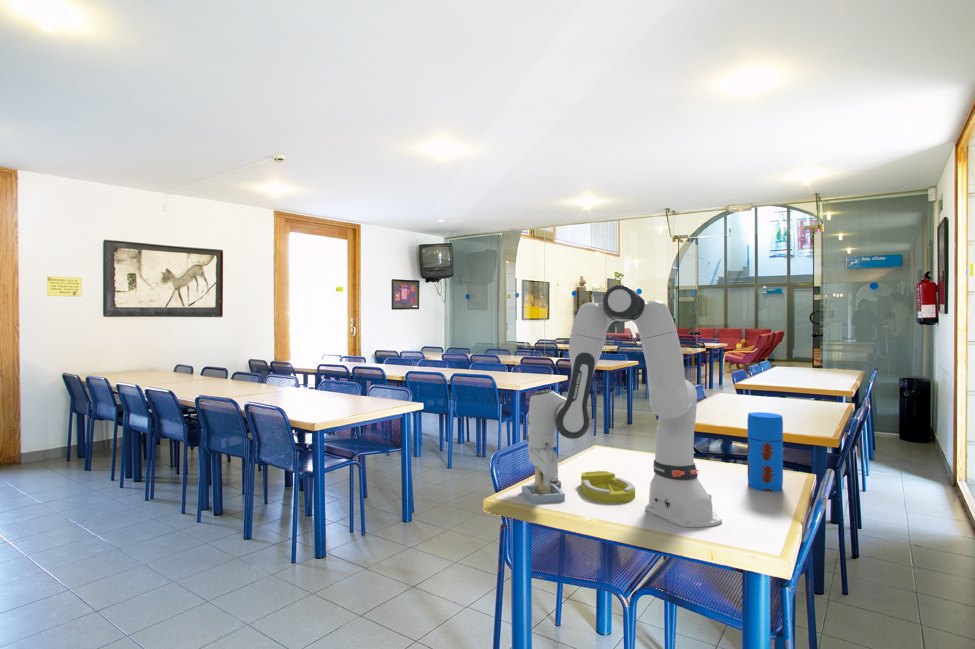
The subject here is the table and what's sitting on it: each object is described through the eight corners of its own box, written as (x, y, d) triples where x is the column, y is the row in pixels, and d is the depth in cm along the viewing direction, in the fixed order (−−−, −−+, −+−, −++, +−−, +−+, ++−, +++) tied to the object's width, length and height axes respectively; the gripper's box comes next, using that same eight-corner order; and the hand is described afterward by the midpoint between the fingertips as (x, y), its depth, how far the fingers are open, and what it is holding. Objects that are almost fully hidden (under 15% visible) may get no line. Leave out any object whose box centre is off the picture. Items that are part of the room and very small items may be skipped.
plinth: (563, 491, 180) (563, 484, 180) (519, 494, 177) (519, 487, 177) (557, 485, 186) (557, 478, 186) (514, 488, 183) (514, 481, 183)
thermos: (750, 490, 180) (750, 416, 180) (745, 481, 190) (745, 411, 190) (786, 493, 177) (786, 418, 176) (779, 484, 187) (779, 413, 187)
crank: (559, 483, 181) (559, 466, 181) (547, 483, 180) (547, 467, 180) (549, 473, 192) (549, 458, 192) (537, 474, 191) (537, 459, 191)
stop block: (550, 494, 171) (550, 469, 171) (538, 495, 170) (538, 470, 170) (546, 490, 175) (546, 466, 175) (535, 491, 174) (534, 466, 174)
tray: (564, 503, 168) (564, 493, 168) (531, 505, 166) (531, 496, 166) (553, 492, 179) (553, 483, 179) (521, 494, 177) (521, 485, 177)
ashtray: (615, 484, 189) (615, 470, 189) (644, 503, 169) (644, 488, 169) (571, 487, 186) (571, 473, 186) (595, 507, 165) (595, 491, 165)
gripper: (562, 447, 163) (563, 492, 163) (542, 433, 183) (542, 473, 183) (543, 448, 162) (543, 493, 162) (524, 434, 182) (525, 474, 182)
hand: (542, 483), depth 173 cm, fingers closed on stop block, 4 cm apart
